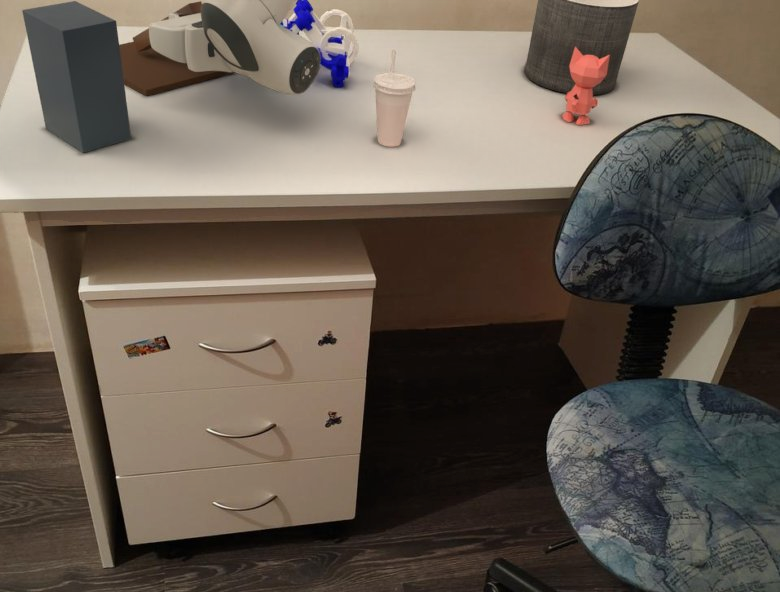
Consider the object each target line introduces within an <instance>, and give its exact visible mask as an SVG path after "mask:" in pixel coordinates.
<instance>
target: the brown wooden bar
mask: <svg viewBox="0 0 780 592" xmlns="http://www.w3.org/2000/svg"><path fill="white" fill-rule="evenodd" d="M202 4H203V2H202V0H201V1H194V2H189V3H187V4H186V5H184V6H182V7H181V8H179V9H178V10H176V11H174V12H173V13H175V12H178V13H180V14H182V17H183V16H188V15H193V14H197V13H201V5H202ZM168 19H169V16H166V17H164V18H163V19H161V20H160V21H163V20H168ZM132 42H134V44H135V46H136V49H137V51H138V52H140V51H145V50H149V49H151V48H152V47H151V44H150V38H149V27H148V28H146V29H145V30H144V31H141V32H140V33H137V34H136V35H135V36H133V37H132Z"/></svg>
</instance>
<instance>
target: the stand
mask: <svg viewBox="0 0 780 592" xmlns="http://www.w3.org/2000/svg"><path fill="white" fill-rule="evenodd" d="M21 12H22V16H23V22H24V26H25V32H26V36H27V41H28V46H29V51H30V56H31V62H32V66H33V71H34V75H35V81H36V87H37V92H38V95H39V101H40V106H41V111H42V117H43V121H44V126H45V130H47V131H48V132H50V133H51V134H53V135H54V136H56V137H57V138H59V139H61V140H62V141H64V142H65V143H66V144H68V145H70V146H72V147H73V148H75V149H76V150H78V151H79V152H81V153H83V154H85V153H88V152H91V151H96V150H98V149H102V148H105V147H109V146H112V145H116V144H119V143H122V142H126V141H128V140H129V141H130V140H132V133H131V127H130V118H129V110H128V102H127V94H126V87H125V86H126V85H125V84H124V78H123V71H122V63H121V55H120V47H119V45H120V41H119V40H120V39H119V33H118V23H117V20H115V19H113V18H111V17H109V16H107V15H105V14H103V13H101V12H99V11H96V10H95V9H92V8H91V7H89V6H87V5H85V4H83V3H81V2H79V1H76V0H73V1H67V2H61V3H56V4H55V3H54V4H49V5H44V6H37V7H32V8H31V7H30V8H26V9H22V10H21Z"/></svg>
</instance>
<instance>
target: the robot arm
mask: <svg viewBox="0 0 780 592" xmlns="http://www.w3.org/2000/svg"><path fill="white" fill-rule="evenodd" d="M298 1H299V0H204V1H203V2H202V5H201V13H197V14H193V15H188V16H183V17H182V14H180V13H178V12H176V11H174V12H175V13H174V12H170V13H168V16H169V19H168V20H163V19H162V20H163V21H161V20H158V21H153V22H151V23H149V26H148V28H149V38H150V44H151V47H152V48H153V49H154V50H155V51H156V52H158V53H160V54H162V55H164V56H166V57H168V58H170V59H172V60H174V61H177V62H181V63H187V65H188V68H189V69H190V70H192V71H194V72H205V71H224V72H232V73H236V74H238V75H240V76H244V77H250V78H251V80H253V81H254V82H255V83H257V84H259V85H261V86H263V87H265V88H268V89H270V90H273V91H276V92H279V93H283V94H287V95H293V96H295V95H301V94H303V93H305V92H306V91H307V90H308V89H309V88H310V87H311V86H312V85H313V83H314V82H315V80H316V79H317V76H318V75H319V72H320V68H321V65H320V63H321V57H320V52H319V50H318V48H317V47H316V46H315V45H313V44H312V43H311V41H310V40H309V39H307V38H306V37H305V38H304V37H303V36H302V35H300V34H299V35H298V34H296V33H294V32H292V31H290V30H288V29H286V28H284V27H282V26H280V24H281V22H282V21H283V20H284V19H286V17H287V16H288V14H289V13H290V12H291V10H292V9H294V7H295V6H296V3H297V2H298ZM168 16H167V17H168Z"/></svg>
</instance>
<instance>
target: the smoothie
mask: <svg viewBox="0 0 780 592" xmlns="http://www.w3.org/2000/svg"><path fill="white" fill-rule="evenodd" d="M396 53H397V51H396V50H395V49H393V50H391V59H390V70H389V72H384V73H380V74H377V75H375V77H374V78H373V83H372V85H373V88H374V89H375V108H376V110H375V111H376V134H377V135H376V137H377V143H378V144H379V145H382V146H384V147H389V148H390V147H394V148H395V147H398V146H401V144H402V141H403V140H402V139H403V135H404V130H405V127H406V121H407V119H408V118H407V117H408V113H409V110H410V109H409V108H410V105H411V101H412V96H413V93H414V92H415V91H416V81H415V79H414V78H412V77H411V76H409V75H406V74H403V73H397V72H395V65H396V64H395V63H396Z"/></svg>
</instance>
